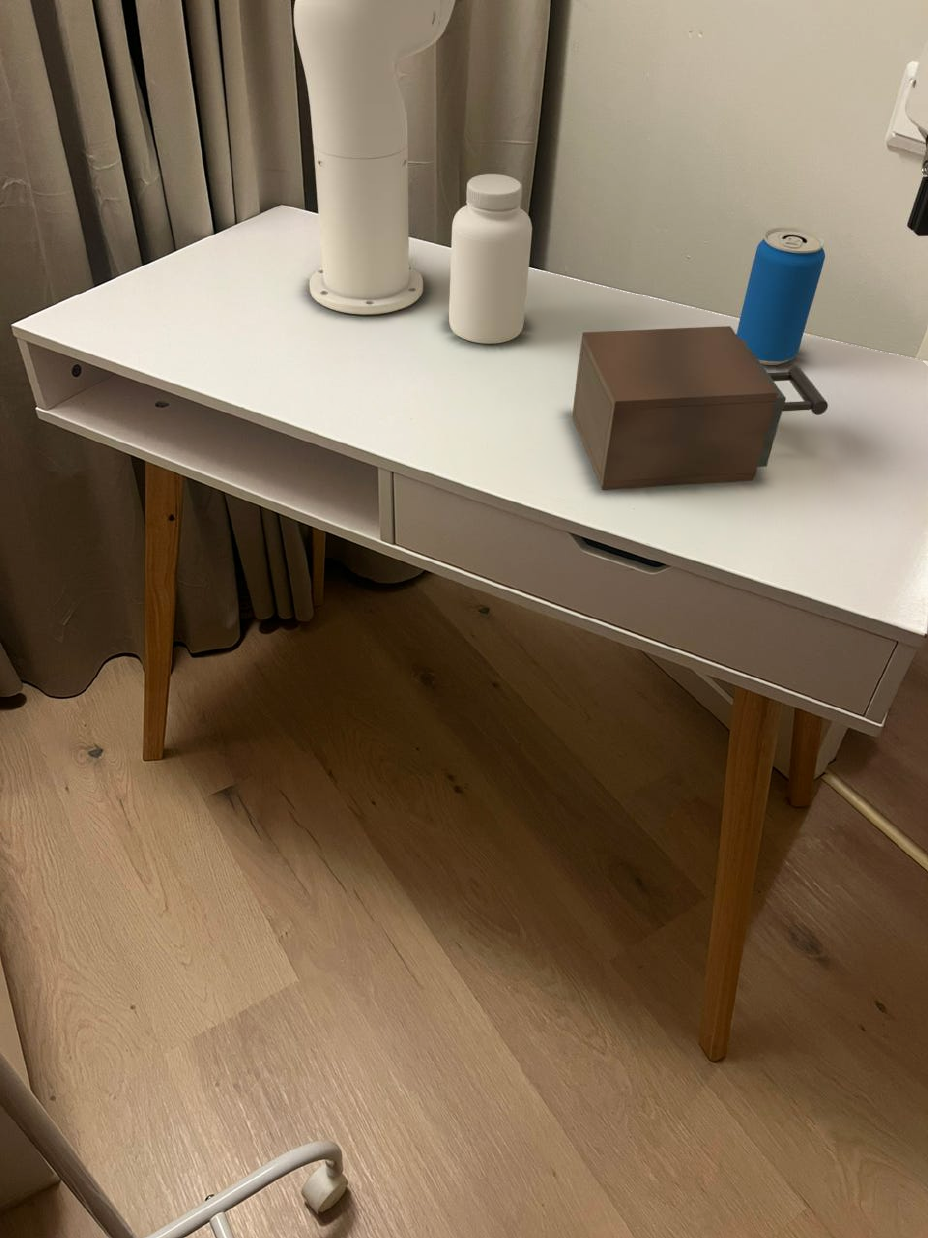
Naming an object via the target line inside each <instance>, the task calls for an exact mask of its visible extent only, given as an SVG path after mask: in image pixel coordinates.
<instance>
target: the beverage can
mask: <svg viewBox="0 0 928 1238" xmlns="http://www.w3.org/2000/svg"><path fill="white" fill-rule="evenodd" d="M824 246H825V241H824V239H823V237H821V236H820V235H818V234H817V233H815V232H812V231H810V230H808V229H804V228H798V227H789V226H787V227H786V226H785V227H784V226H782V227H774V228H771V229H769V230H767V231H766V232H765V233H764V235H763V239H762V240H761V241H760V242H759V243H758V244H757V246H756V249H755V254H754V258H753V261H752V267H751V271H750V274H749V279H748V282H747V288H746V291H745V295H744V300H743V304H742V309H741V312H740V317H739V322H738V326H737V330H736V333H735V334H736V335H737V337H738V338H743V339H744V341H745V342H746V343H747V345H748V346H749V347H750V349H751V350H752V352H753V353H754V354H755V356H756V357H757V359H758V360H759V361H760V363H761V364H762V365H763V366H764V365H765V366H776V365H777V366H778V365H781V364H784V363H786V362H788V361H790V360H792V359H794V358H795V357H797V356H798V354H799V351H800V348H801V344H802V340H803V337H804V334H805V330H806V326H807V322H808V319H809V315H810V312H811V309H812V305H813V301H814V299H815V294H816V292H817V289H818V288H817V287H818V284H819V280H820V277H821V274H822V269H823V266H824V262H825V260H826V252H825V250H824V248H823V247H824Z"/></svg>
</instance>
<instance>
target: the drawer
mask: <svg viewBox="0 0 928 1238" xmlns="http://www.w3.org/2000/svg"><path fill="white" fill-rule="evenodd" d="M739 339H740V341H741V342H742V344H743V345H744V346H745V348H746V349H747V351H748V352H749V353H750V355H751V356H752V358H753V359H754V360H755V362H756V363H757V365H758V366H759V367H760V369H761V370H762V372H763V373H764V374H765V376H766V377H767V379H768V380H769V381H770V383H771V384H772V386H773V387H774V388H775V390H776V391H777V393H778V394H777V398H776V401H775V405H774V408H773V412H772V416H771V419H770V423H769V426H768V430H767V434H766V437H765V441H764V445H763V448H762V452H761V455H760V459H759V463H758V466H757V468H766V467H768V463H769V460H770V456H771V452H772V448H773V445H774V442H775V439H776V435H777V431H778V428H779V424H780V421H781V417H782V414H783V412H798V411H799V412H800V411H801V412H802V411H811V412H812V414H813V415H816V416H819V415H823V414H824V413H825V412H827V410H828V408H829V403H828V402H827V400H826V399H825V397H823V396H822V394H821V393H820V392H819V390H818V388H817V387H816V386H815V385H814V383H813V382H812V381H811V379H810V378H809V377H808V376H807V374H806V373H805V371H803V369H802V368H801V367H800V366H792V367H790V368H789V369H788V370H787V371H779V372H768V371H767V370H766V368H765V367H764V365H763V364H761V363H760V361H759V360H758V359H757V357H756V356H755V354H754V353H753V352H752V350H751V349H750V347H749V346H748V345H747V343H746V342H745V341H744V339H743V338H739ZM776 382H789V383H790V384H791V386H792V387H793V388H794V390H795V391H796V392H797V394H798V395H799V397H800V398H801V399H802V400H803V401H786V399H787V397H786V396H785V394H784V393H783V392H782V390H781V389H780V387H779V386H778V385H777V384H776Z"/></svg>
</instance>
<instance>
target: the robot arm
mask: <svg viewBox="0 0 928 1238" xmlns="http://www.w3.org/2000/svg"><path fill="white" fill-rule="evenodd" d="M455 3H456V0H295V1H294V6H293V27H294V32H295V38H296V42H297V47H298V50H299V54H300V58H301V62H302V66H303V70H304V76H305V80H306V86H307V92H308V100H309V109H310V118H311V130H312V131H311V132H312V144H313V155H314V157H313V158H314V169H315V171H314V172H315V184H316V194H317V195H316V197H317V212H318V226H319V239H320V240H319V241H320V251H321V252H320V254H321V265H322V266H320V267H319V268H317V269H316V270H315V271H314V272H313V273H312V275H311V276H310V278H309V293H310V295H311V297H312V298H313V299H314V300H315V301H316V302H318V303H319V304H320V305H322V306H323V307H325V308H328V309H330V310H333V311H336V312H340V313H346V314H351V315H379V314H380V315H381V314H386V313H387V314H388V313H391V312H395V311H396V312H397V311H399V310H403V309H405V308H407V307H409V306H411V305H413V304H414V303H415V302H417V301H418V300H419V299H420V297H421V296H422V294H423V293H424V279H423V276H422V275H421V274H420V272H419V271H418V270H416V269H415V268H414V267H412V266H411V265H410V248H409V247H410V241H409V238H410V237H409V232H410V231H409V156H408V155H409V151H408V150H409V149H408V148H409V147H408V143H409V142H408V118H407V117H408V116H407V111H406V105H405V102H404V98H403V94H402V92H401V89H400V86H399V83H398V80H397V76H396V72H395V64H397V63H398V62H400V61H402V60H404V59H407V58H409V57H411V56H413V55H416V54H418V53H421V52H423V51H424V50H427V49H428V48H429V47H431V46H433V44H435V43H436V42H437V41H438V39H439V38H440V37H441V36H442V35H443V33H444V32H445V30H446V28H447V26H448V24H449V21H450V19H451V16H452V14H453V11H454V6H455ZM904 105H905V106H904V111H905V114H906V116H907V118H908V120H909V121H910V122H911V123H912V124H913V125H914V126H915V127H917V130H918V132H919V133H920V135H921V136H922V138H923V140H924V141H925V152H924V156H923V160H922V164H921V173H922V175H923V176H922V178H921V181H920V184H919V187H918V190H917V194H916V196H915V199H914V202H913V205H912V208H911V212H910V214H909V217H908V220H907V223H906V226H907V228H908V229H909V230H910V231H913V233H914V234H915V235H916V236H918V237H928V38H927V39H926V42H925V44H924V47H923V50H922V53H921V55H920V59H919V61H918V64H917V67H916V69H915V73H914V76H913V78H912V82H911V85H910V87H909V91H908V94H907V96H906V102H905V104H904Z"/></svg>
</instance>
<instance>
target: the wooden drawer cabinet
mask: <svg viewBox="0 0 928 1238" xmlns="http://www.w3.org/2000/svg"><path fill="white" fill-rule="evenodd" d="M736 334H737V333H736V332H735V331H734V330H733V328H732V327H731V326H730V325H724V326H702V327H701V326H700V327H699V326H698V327H676V328H655V329H653V328H652V329H632V330H607V331H605V330H604V331H585V332H584V331H583V332H581V338H580V348H579V357H578V365H577V373H576V380H575V390H574V398H573V406H572V407H573V408H572V416H571V417H572V420H573V422H574V425H575V428H576V429H577V432H578V435H579V437H580V440H581V441H582V444H583V447H584V449H585V451H586V454H587V456H588V459H589V461H590V464H591V466H592V468H593V471H594V473H595V476H596V479H597V481H598V483H599V486H600V488H601V490H617V489H631V488H633V489H634V488H648V487H663V486H679V485H680V486H681V485H697V484H710V483H711V484H712V483H713V484H714V483H729V482H743V481H744V482H746V481H754V480H755V476H756V472H757V470H758V467H757V466H758V463H759V459H760V455H761V452H762V448H763V445H764V441H765V437H766V434H767V430H768V426H769V423H770V419H771V416H772V412H773V408H774V405H775V401H776V398H777V394H778V393H777V391H776V390H775V388H774V387H773V386H772V384H771V383H770V381H769V380H768V379H767V377H766V376H765V374H764V373H763V372H762V370H761V369H760V367H759V366H758V365H757V363H756V362H755V360H754V359H753V358H752V356H751V355H750V353H749V352H748V351H747V349H746V348H745V346H744V345H743V344H742V342H741V341H740V339H739V338H738V337H737V335H736Z"/></svg>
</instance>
